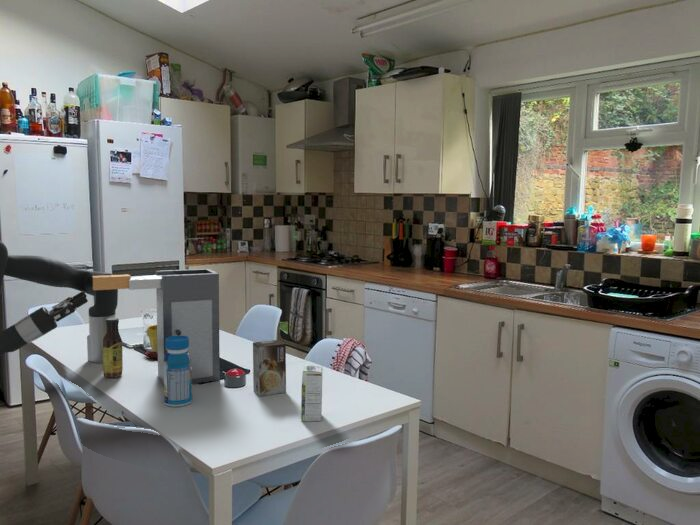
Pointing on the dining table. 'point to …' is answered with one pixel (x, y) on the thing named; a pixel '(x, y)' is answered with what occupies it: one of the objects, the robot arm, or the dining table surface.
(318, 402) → the drink carton
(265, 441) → the dining table surface
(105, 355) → the sauce bottle
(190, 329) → the small grey cabinet
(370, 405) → the dining table surface
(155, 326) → the plant pot
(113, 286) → the wooden handled hammer
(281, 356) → the coffee box
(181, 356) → the beverage bottle
